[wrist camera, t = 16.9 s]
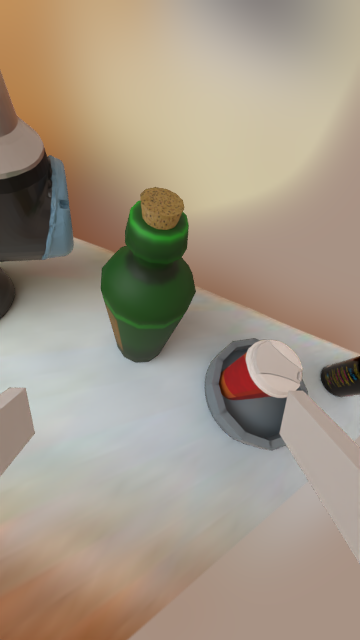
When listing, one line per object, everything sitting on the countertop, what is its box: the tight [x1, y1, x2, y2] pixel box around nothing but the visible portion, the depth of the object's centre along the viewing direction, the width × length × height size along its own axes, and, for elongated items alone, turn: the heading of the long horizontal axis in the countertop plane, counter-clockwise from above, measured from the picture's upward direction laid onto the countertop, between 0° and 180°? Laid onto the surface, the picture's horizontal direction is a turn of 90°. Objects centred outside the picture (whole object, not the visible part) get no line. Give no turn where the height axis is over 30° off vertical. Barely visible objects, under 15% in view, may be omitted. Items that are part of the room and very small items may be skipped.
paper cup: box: [219, 340, 303, 400], centre depth 32 cm, size 8×8×14 cm
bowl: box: [205, 338, 308, 450], centre depth 37 cm, size 18×18×4 cm
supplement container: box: [321, 356, 360, 397], centre depth 40 cm, size 7×7×10 cm
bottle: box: [101, 187, 196, 362], centre depth 27 cm, size 11×11×28 cm
